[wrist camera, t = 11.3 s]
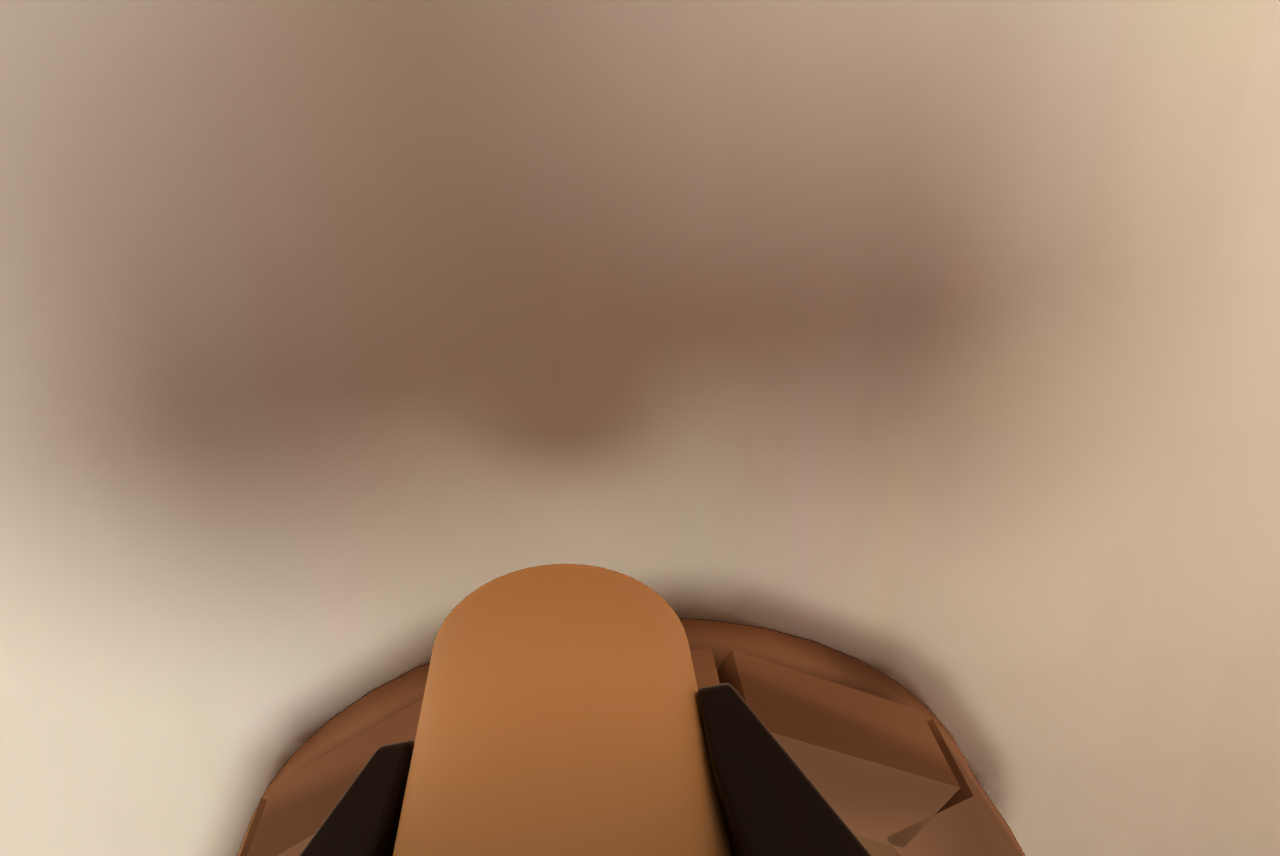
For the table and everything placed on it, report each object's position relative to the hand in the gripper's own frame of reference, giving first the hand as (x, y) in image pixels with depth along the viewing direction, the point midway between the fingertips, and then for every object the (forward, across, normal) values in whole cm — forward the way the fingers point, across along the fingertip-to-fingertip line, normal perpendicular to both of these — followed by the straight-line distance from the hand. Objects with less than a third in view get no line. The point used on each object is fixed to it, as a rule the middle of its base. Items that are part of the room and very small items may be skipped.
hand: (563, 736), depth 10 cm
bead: (+1, 0, 0) cm, 1 cm away
